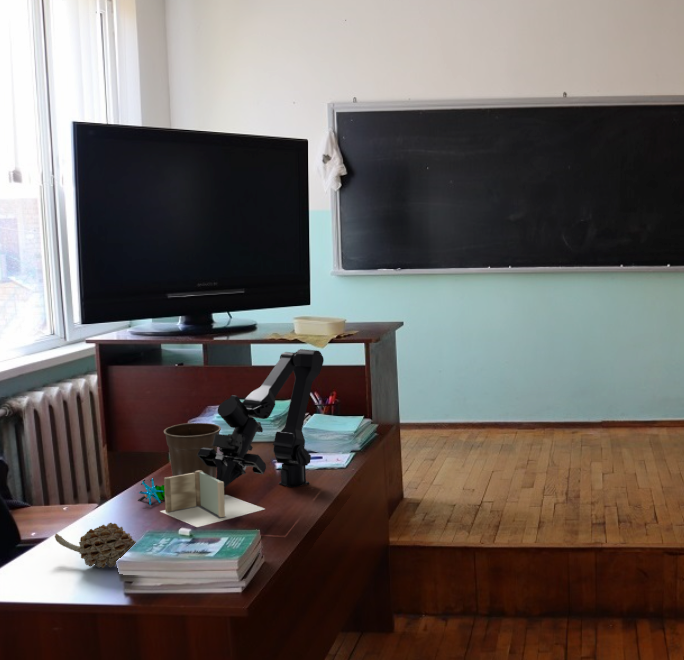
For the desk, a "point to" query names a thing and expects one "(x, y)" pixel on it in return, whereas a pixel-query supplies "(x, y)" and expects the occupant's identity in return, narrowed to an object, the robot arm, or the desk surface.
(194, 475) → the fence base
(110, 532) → the pine cone
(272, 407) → the robot arm
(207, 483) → the sage fence panel
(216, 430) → the plant pot
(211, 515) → the card
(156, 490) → the stick construction toy
